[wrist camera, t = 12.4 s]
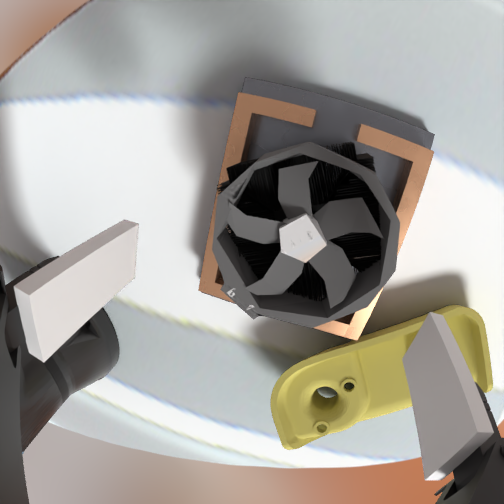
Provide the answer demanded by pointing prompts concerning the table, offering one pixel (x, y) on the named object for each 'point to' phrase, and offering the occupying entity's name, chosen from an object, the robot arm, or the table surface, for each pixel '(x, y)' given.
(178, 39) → the table surface
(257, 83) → the board
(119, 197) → the table surface
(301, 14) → the table surface
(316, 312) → the cpu cooler
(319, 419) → the plastic component
